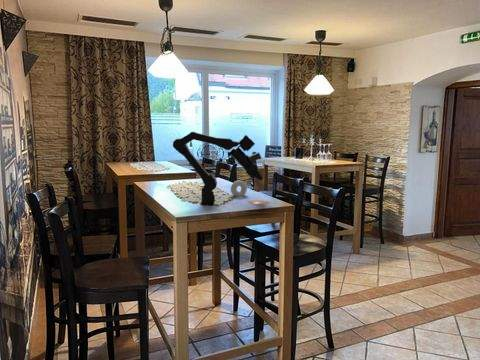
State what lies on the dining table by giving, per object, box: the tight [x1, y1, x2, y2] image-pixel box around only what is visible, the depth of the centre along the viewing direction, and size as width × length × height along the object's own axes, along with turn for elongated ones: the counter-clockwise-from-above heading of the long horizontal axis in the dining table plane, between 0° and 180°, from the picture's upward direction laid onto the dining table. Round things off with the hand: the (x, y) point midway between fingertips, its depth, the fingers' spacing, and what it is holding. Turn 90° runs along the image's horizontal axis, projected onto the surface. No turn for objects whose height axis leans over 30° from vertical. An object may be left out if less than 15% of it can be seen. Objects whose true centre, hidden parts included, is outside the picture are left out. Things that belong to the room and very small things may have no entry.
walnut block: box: [253, 166, 266, 192], centre depth 202 cm, size 5×5×12 cm
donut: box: [230, 180, 248, 197], centre depth 221 cm, size 10×4×10 cm, turn 115°
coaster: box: [247, 199, 271, 206], centre depth 204 cm, size 12×12×1 cm
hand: (261, 178), depth 202 cm, fingers closed on walnut block, 5 cm apart
